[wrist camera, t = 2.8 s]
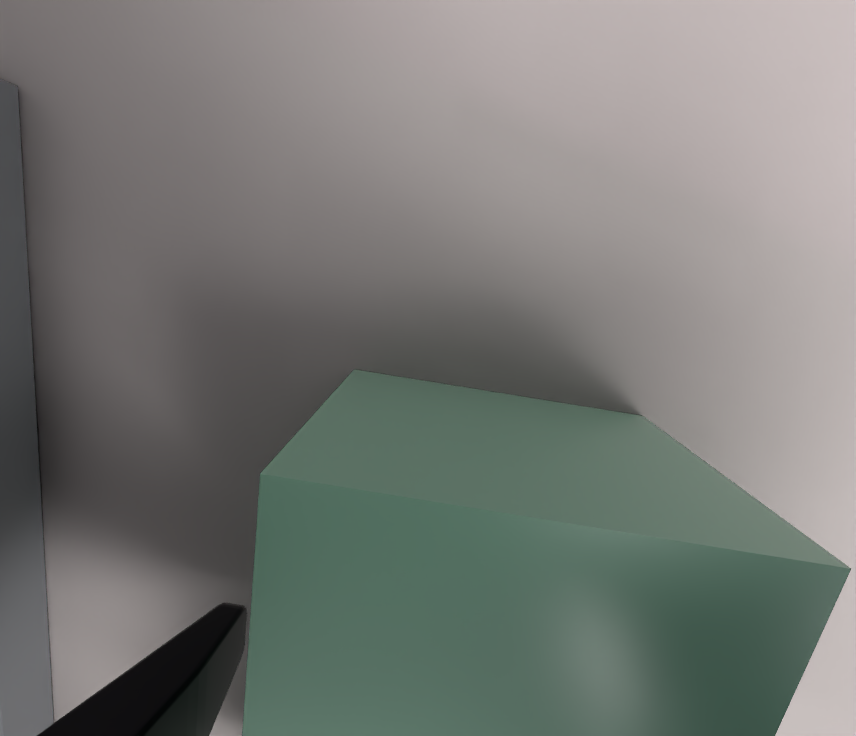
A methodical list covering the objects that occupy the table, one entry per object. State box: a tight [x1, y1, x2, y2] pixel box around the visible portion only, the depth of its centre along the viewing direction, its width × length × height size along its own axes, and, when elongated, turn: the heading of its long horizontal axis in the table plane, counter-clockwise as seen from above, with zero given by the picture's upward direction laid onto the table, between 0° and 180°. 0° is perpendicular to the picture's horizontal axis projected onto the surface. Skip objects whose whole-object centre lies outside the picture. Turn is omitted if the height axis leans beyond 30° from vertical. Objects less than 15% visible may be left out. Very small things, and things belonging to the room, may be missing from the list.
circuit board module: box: [242, 369, 851, 736], centre depth 6 cm, size 5×9×4 cm, turn 171°
